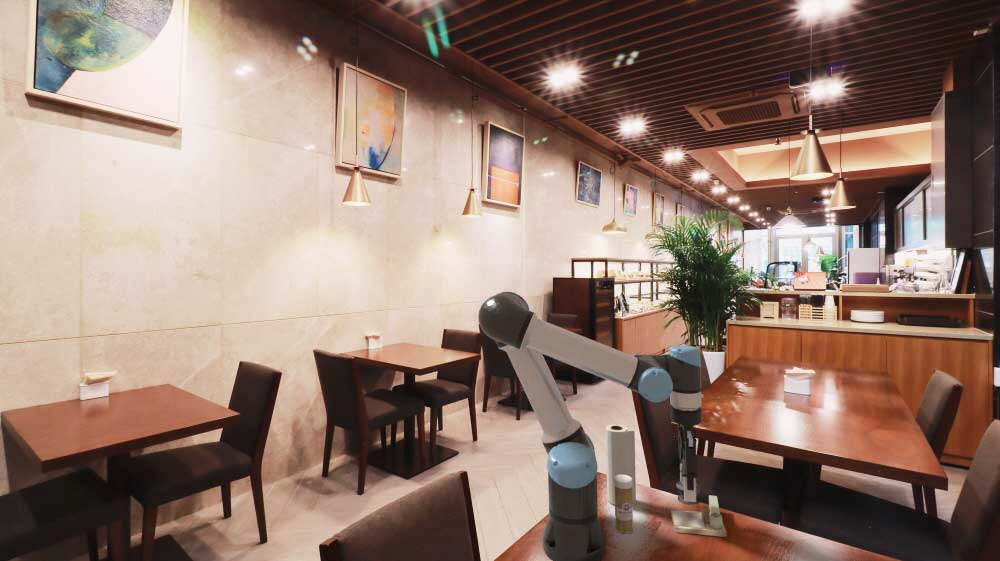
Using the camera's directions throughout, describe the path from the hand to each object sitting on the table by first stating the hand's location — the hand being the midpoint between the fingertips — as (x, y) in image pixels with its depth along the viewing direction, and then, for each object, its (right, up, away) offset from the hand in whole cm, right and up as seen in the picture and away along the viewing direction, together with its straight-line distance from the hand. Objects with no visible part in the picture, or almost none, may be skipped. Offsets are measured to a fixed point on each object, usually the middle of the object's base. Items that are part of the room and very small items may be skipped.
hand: (688, 494), depth 122 cm
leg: (+7, -6, +1) cm, 9 cm away
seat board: (+2, -8, 0) cm, 8 cm away
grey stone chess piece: (0, -2, 0) cm, 2 cm away
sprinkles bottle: (-17, -9, -1) cm, 19 cm away
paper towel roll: (-15, -8, +13) cm, 21 cm away
